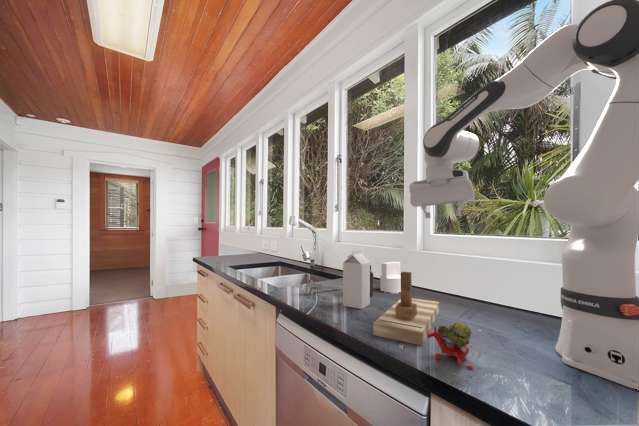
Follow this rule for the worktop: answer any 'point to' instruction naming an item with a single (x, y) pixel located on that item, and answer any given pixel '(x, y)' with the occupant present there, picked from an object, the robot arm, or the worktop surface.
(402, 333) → the slatted pale wooden block
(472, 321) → the worktop surface
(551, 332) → the worktop surface
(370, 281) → the supplement bottle
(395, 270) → the cylinder with rectangular tab
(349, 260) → the milk carton
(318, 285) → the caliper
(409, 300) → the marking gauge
